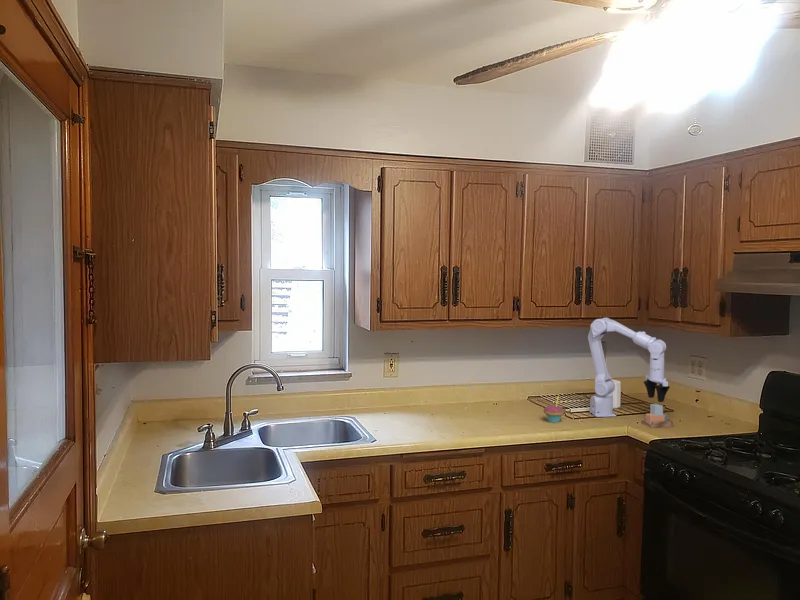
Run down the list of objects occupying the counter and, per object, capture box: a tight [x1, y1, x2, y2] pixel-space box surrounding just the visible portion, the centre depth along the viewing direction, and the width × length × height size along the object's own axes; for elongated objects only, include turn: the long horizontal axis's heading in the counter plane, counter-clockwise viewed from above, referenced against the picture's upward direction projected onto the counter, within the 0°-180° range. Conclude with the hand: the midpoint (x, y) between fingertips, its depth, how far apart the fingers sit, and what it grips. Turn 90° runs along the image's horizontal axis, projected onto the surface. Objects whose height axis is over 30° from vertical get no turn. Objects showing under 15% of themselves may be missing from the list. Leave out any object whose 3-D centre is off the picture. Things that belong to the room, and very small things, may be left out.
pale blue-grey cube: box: [649, 403, 664, 416], centre depth 251 cm, size 4×4×4 cm
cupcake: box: [543, 394, 565, 424], centre depth 257 cm, size 9×8×12 cm
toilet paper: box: [612, 379, 622, 409], centre depth 285 cm, size 10×10×12 cm
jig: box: [641, 417, 675, 429], centre depth 252 cm, size 10×8×2 cm
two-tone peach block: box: [645, 412, 669, 424], centre depth 252 cm, size 8×4×4 cm, turn 96°
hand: (655, 399), depth 254 cm, fingers open, 7 cm apart
